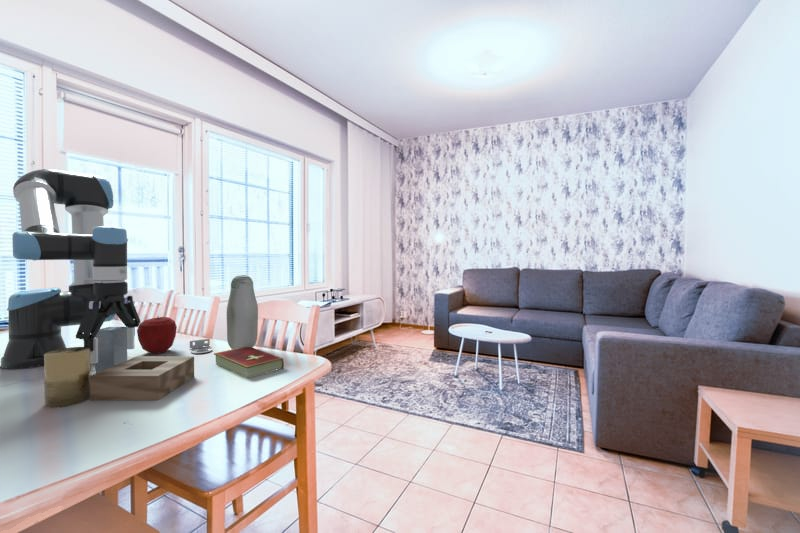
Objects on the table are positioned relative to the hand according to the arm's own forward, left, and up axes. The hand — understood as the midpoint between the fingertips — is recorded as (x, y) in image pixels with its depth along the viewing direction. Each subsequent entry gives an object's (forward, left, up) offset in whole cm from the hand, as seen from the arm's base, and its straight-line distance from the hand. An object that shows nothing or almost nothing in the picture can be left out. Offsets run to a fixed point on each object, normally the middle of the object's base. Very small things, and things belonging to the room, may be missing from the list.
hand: (111, 355), depth 99 cm
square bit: (0, 0, -6) cm, 6 cm away
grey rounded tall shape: (-27, +26, -6) cm, 38 cm away
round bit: (+16, +2, -6) cm, 17 cm away
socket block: (+8, +15, -6) cm, 18 cm away
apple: (-25, -3, -6) cm, 26 cm away
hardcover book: (-10, +35, -7) cm, 37 cm away
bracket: (-28, +11, -7) cm, 31 cm away
